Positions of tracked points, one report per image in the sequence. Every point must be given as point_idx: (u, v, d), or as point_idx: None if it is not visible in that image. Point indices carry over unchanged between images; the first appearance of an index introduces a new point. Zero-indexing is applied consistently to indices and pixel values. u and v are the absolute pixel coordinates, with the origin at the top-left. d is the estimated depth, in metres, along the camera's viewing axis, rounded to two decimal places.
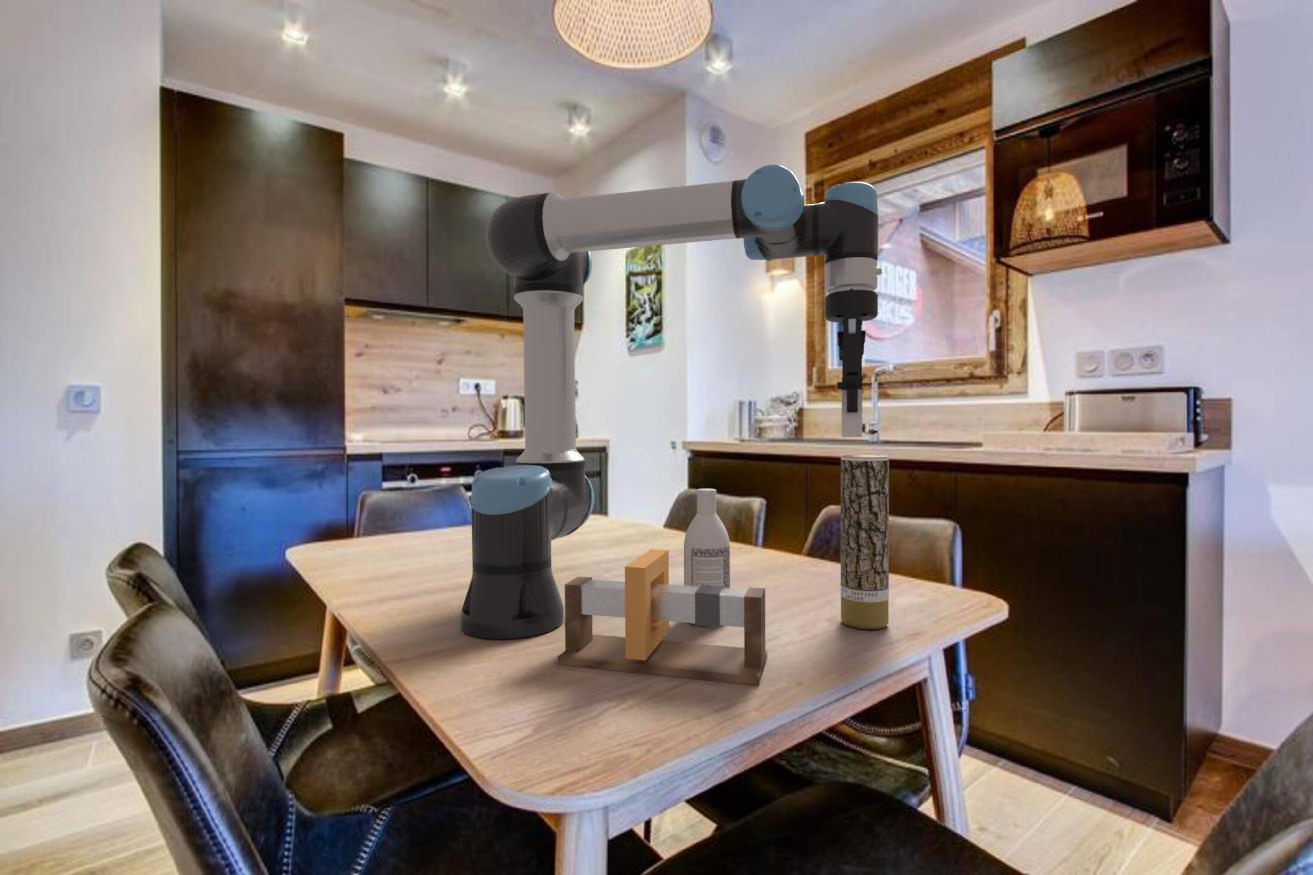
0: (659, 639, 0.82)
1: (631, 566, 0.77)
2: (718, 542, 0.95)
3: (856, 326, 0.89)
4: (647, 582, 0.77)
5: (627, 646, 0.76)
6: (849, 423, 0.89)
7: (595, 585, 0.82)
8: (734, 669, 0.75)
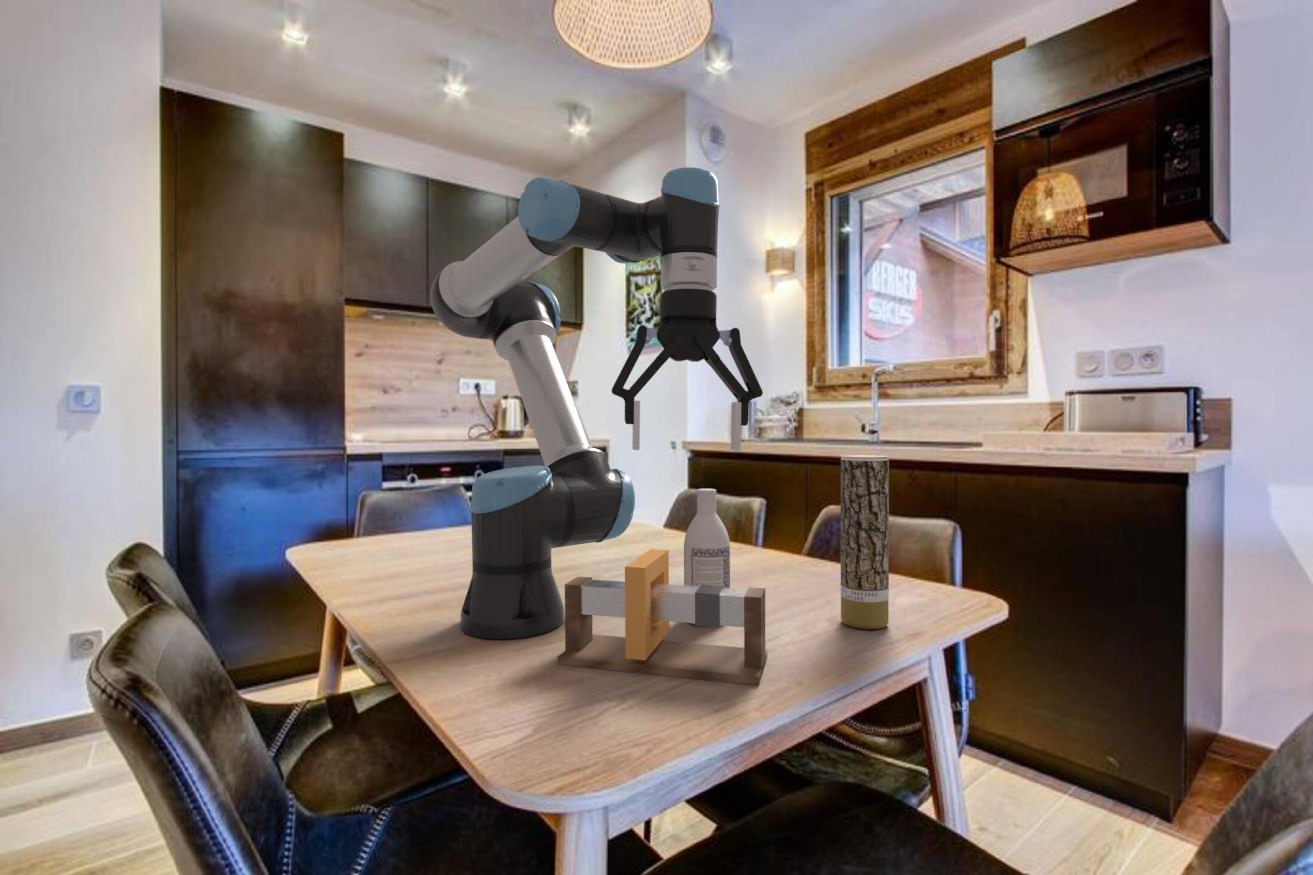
0: (659, 639, 0.82)
1: (631, 566, 0.77)
2: (718, 542, 0.95)
3: None
4: (647, 582, 0.77)
5: (627, 646, 0.76)
6: None
7: (595, 585, 0.82)
8: (734, 669, 0.75)
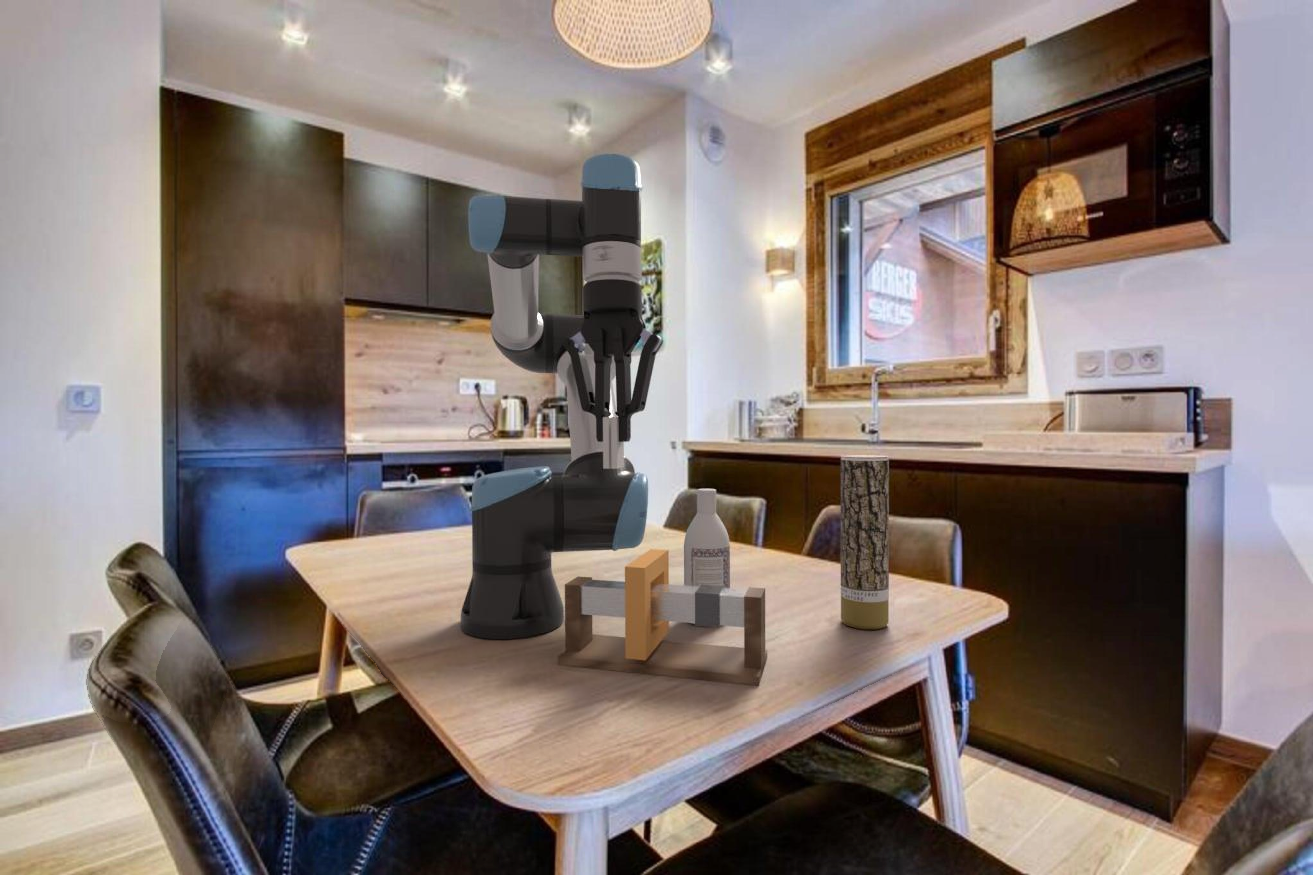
0: (659, 639, 0.82)
1: (631, 566, 0.77)
2: (718, 542, 0.95)
3: None
4: (647, 582, 0.77)
5: (627, 646, 0.76)
6: None
7: (595, 585, 0.82)
8: (734, 669, 0.75)
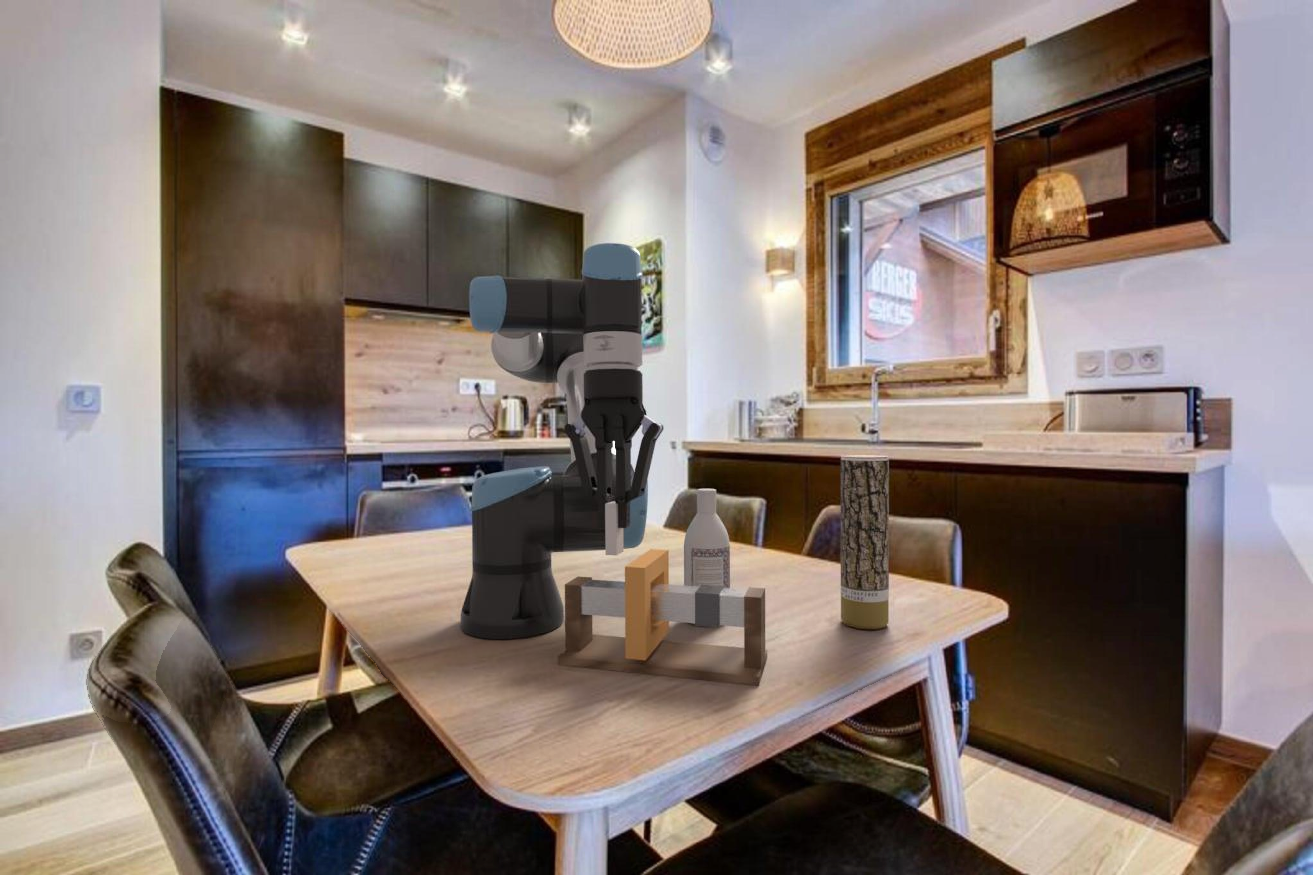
0: (659, 639, 0.82)
1: (631, 566, 0.77)
2: (718, 542, 0.95)
3: None
4: (647, 582, 0.77)
5: (627, 646, 0.76)
6: None
7: (595, 585, 0.82)
8: (734, 669, 0.75)
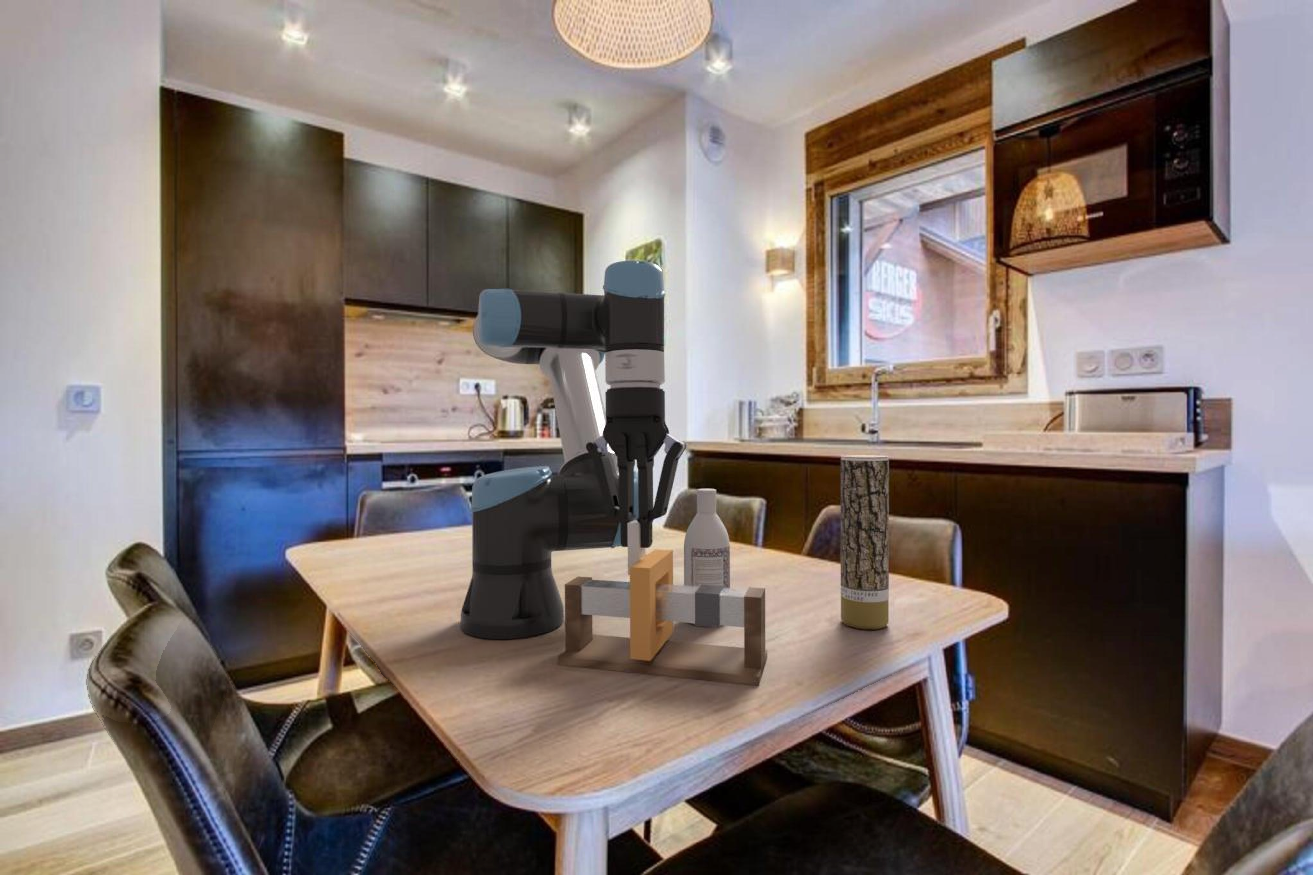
0: (664, 639, 0.82)
1: (636, 566, 0.76)
2: (718, 542, 0.95)
3: None
4: (652, 582, 0.77)
5: (632, 646, 0.76)
6: None
7: (595, 585, 0.82)
8: (734, 669, 0.75)
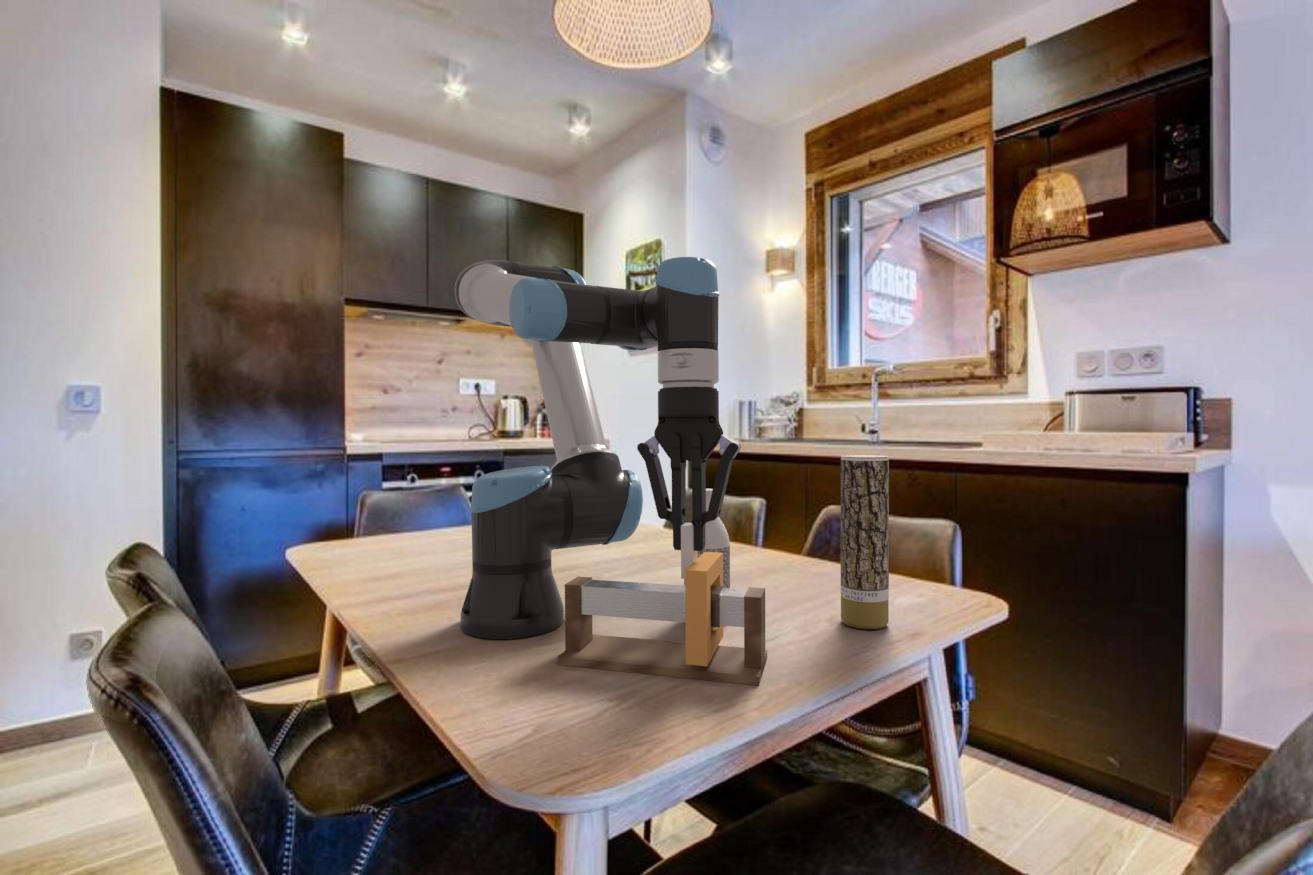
0: (716, 644, 0.80)
1: (692, 569, 0.75)
2: (718, 542, 0.95)
3: None
4: (708, 586, 0.75)
5: (688, 651, 0.74)
6: None
7: (595, 585, 0.82)
8: (734, 669, 0.75)
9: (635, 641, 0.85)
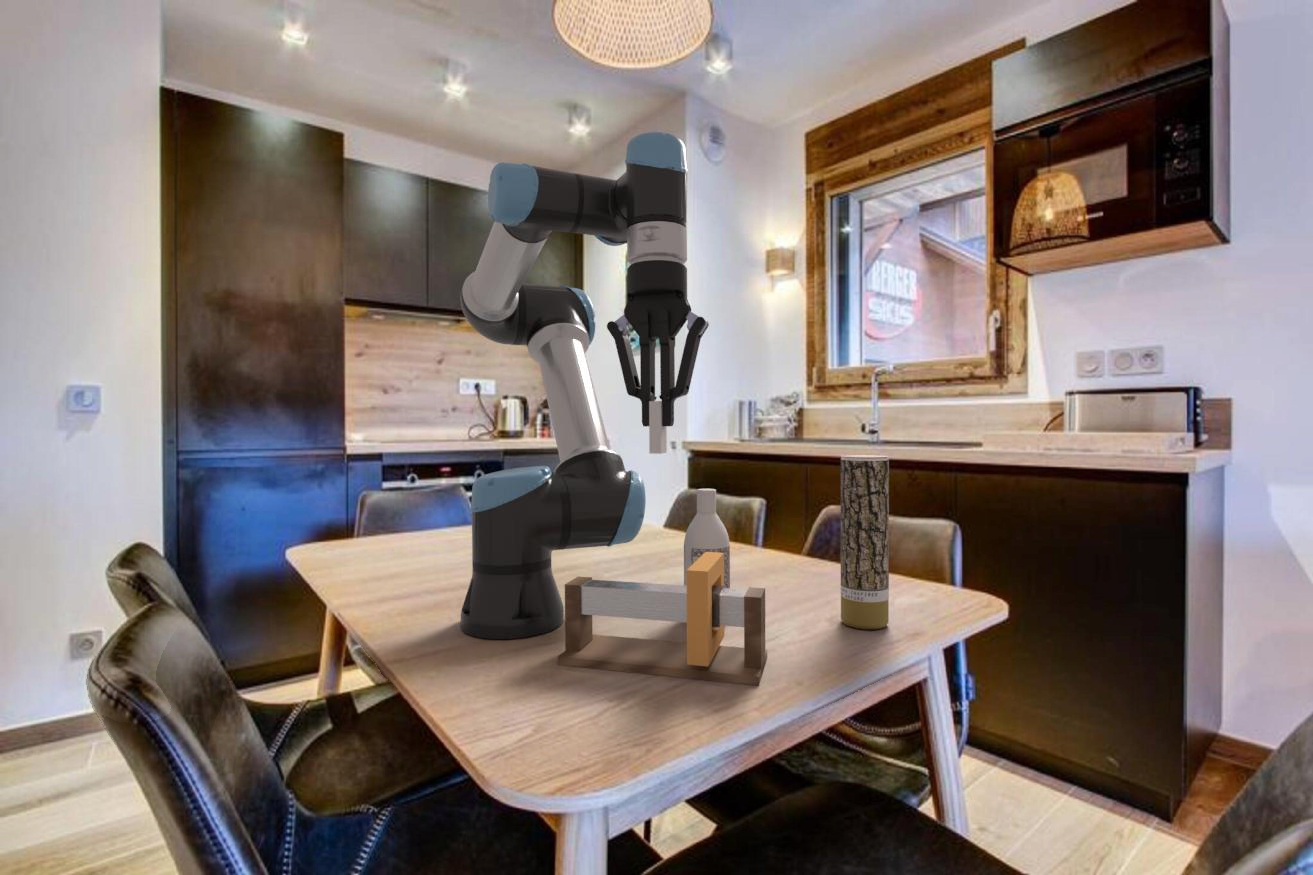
0: (717, 644, 0.80)
1: (693, 570, 0.74)
2: (718, 542, 0.95)
3: None
4: (709, 586, 0.75)
5: (689, 651, 0.74)
6: None
7: (595, 585, 0.82)
8: (734, 669, 0.75)
9: (635, 641, 0.85)
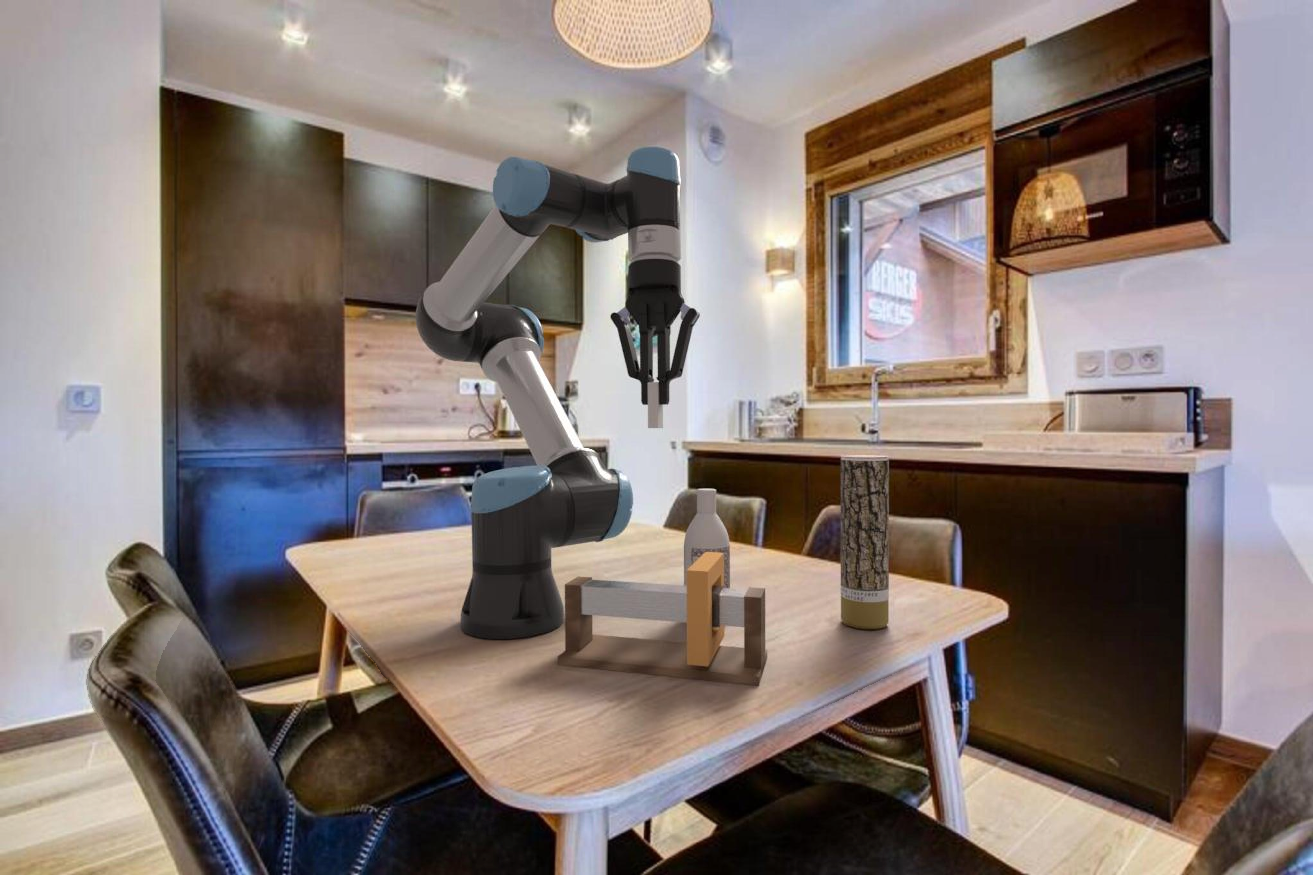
0: (717, 644, 0.80)
1: (693, 570, 0.74)
2: (718, 542, 0.95)
3: None
4: (709, 586, 0.75)
5: (689, 651, 0.74)
6: None
7: (595, 585, 0.82)
8: (734, 669, 0.75)
9: (635, 641, 0.85)
